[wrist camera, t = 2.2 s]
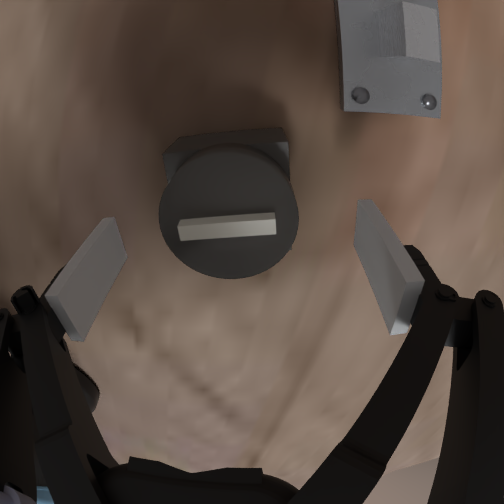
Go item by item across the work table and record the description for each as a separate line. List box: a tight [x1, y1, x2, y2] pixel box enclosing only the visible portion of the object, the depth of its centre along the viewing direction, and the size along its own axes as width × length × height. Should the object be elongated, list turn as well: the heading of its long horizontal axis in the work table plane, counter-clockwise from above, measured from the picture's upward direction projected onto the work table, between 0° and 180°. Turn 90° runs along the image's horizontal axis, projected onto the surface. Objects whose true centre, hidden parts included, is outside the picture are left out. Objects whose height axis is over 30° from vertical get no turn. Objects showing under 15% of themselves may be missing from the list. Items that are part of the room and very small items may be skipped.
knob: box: [159, 128, 299, 279], centre depth 20 cm, size 8×8×8 cm
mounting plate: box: [334, 0, 442, 118], centre depth 14 cm, size 8×12×5 cm, turn 5°
